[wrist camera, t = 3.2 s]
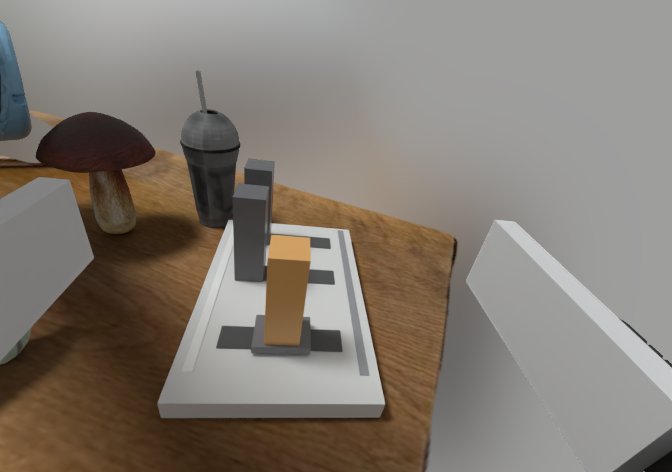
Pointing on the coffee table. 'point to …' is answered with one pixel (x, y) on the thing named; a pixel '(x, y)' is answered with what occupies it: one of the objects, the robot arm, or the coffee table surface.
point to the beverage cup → (211, 162)
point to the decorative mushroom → (99, 162)
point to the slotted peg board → (250, 300)
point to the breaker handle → (285, 299)
